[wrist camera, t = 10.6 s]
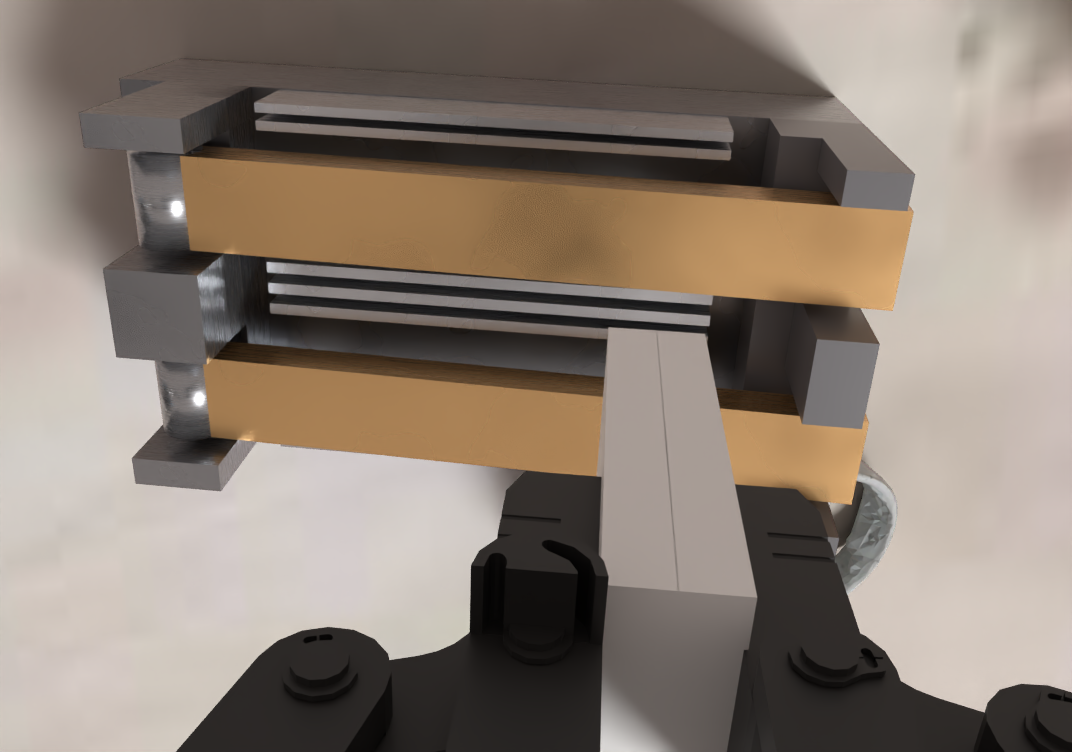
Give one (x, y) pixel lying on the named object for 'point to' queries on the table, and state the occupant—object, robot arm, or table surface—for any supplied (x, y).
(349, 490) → the table surface
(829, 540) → the lug bar
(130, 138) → the gray cradle frame
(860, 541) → the ceramic mug
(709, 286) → the strap near
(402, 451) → the orange long bar
